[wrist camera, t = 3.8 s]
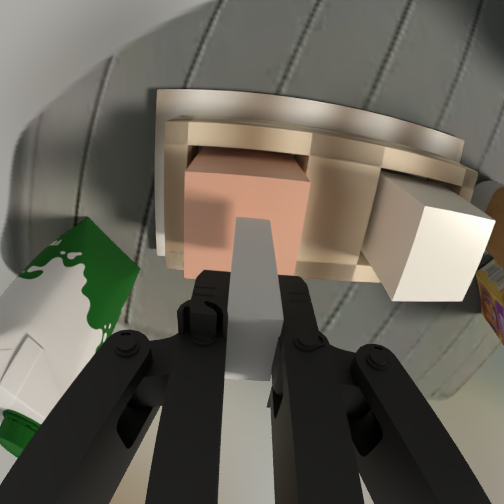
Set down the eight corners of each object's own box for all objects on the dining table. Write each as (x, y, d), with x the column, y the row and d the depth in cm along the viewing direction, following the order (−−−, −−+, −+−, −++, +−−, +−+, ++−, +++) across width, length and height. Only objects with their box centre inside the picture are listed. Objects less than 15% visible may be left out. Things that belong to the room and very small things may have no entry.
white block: (440, 183, 20) (495, 220, 14) (419, 251, 23) (462, 301, 17) (375, 169, 20) (425, 206, 14) (357, 245, 23) (391, 301, 17)
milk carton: (105, 311, 31) (36, 474, 13) (45, 255, 27) (-62, 400, 10) (153, 269, 28) (80, 472, 11) (86, 202, 25) (-63, 365, 7)
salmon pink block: (290, 153, 21) (310, 182, 15) (279, 231, 24) (291, 285, 17) (203, 146, 20) (184, 171, 14) (199, 225, 23) (184, 278, 17)
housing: (458, 138, 22) (499, 154, 17) (420, 269, 29) (447, 303, 24) (160, 89, 21) (134, 89, 15) (159, 249, 27) (141, 288, 22)
